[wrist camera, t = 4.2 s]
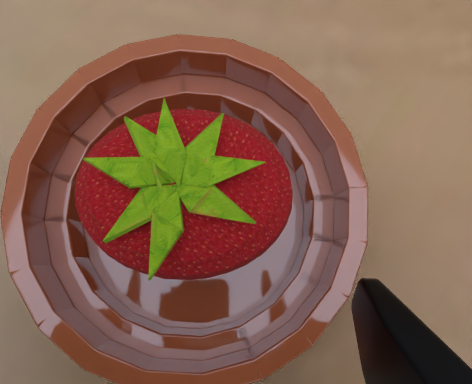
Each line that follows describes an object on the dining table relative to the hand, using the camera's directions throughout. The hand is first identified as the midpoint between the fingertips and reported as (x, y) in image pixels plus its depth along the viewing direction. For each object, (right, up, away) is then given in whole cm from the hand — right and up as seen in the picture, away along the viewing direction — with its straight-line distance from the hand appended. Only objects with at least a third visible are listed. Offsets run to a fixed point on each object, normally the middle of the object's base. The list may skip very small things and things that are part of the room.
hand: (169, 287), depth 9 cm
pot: (0, +1, +10) cm, 11 cm away
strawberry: (0, +1, +10) cm, 10 cm away
